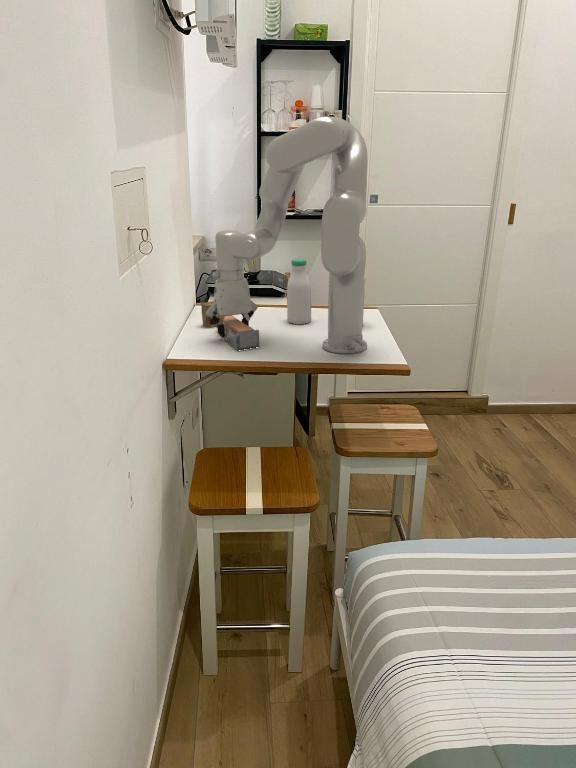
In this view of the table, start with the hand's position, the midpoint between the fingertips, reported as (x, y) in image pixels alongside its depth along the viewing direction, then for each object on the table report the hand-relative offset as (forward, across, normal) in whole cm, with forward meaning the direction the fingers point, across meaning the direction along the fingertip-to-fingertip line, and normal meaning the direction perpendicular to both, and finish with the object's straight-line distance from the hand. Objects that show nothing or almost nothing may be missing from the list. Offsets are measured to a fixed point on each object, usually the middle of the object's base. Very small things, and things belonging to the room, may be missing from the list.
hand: (233, 334), depth 181 cm
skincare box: (+1, +37, -4) cm, 37 cm away
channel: (+1, 0, -8) cm, 8 cm away
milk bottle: (+1, +25, +6) cm, 26 cm away
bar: (0, 0, -1) cm, 1 cm away
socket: (+1, 0, +16) cm, 16 cm away
